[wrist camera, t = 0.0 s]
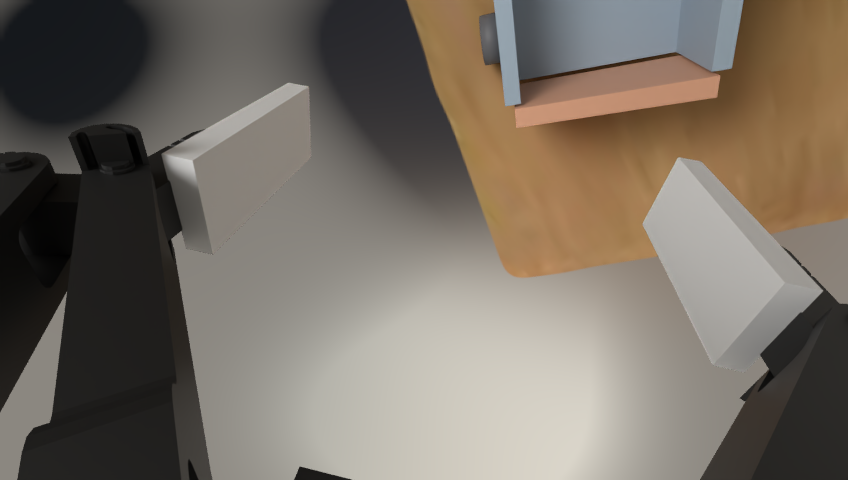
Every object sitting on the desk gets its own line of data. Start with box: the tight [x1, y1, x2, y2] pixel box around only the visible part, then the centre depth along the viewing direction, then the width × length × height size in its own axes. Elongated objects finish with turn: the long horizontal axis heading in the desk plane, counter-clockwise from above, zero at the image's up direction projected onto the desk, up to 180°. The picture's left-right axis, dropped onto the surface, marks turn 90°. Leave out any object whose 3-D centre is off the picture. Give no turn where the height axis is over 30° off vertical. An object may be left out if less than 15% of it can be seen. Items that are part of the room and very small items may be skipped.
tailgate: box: [515, 55, 720, 128], centre depth 34 cm, size 2×14×8 cm, turn 103°
